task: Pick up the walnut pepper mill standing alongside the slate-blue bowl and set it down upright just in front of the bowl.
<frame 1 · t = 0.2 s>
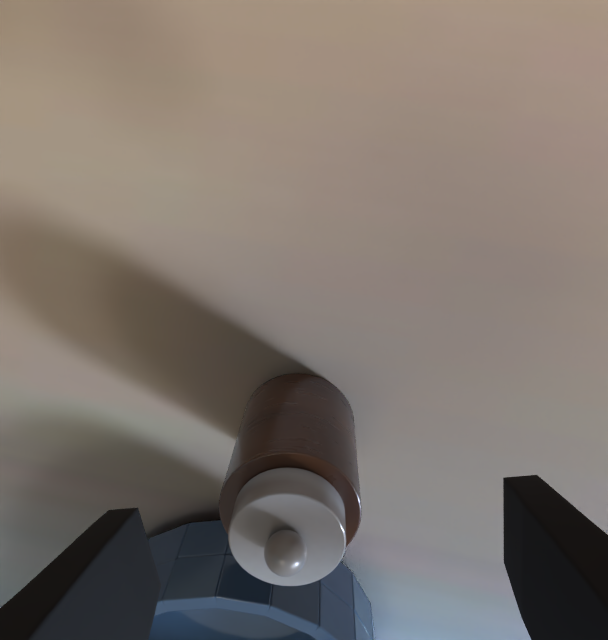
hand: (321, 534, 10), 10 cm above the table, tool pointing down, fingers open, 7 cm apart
bowl: (241, 615, 25), on the table
pepper mill: (298, 422, 21), on the table
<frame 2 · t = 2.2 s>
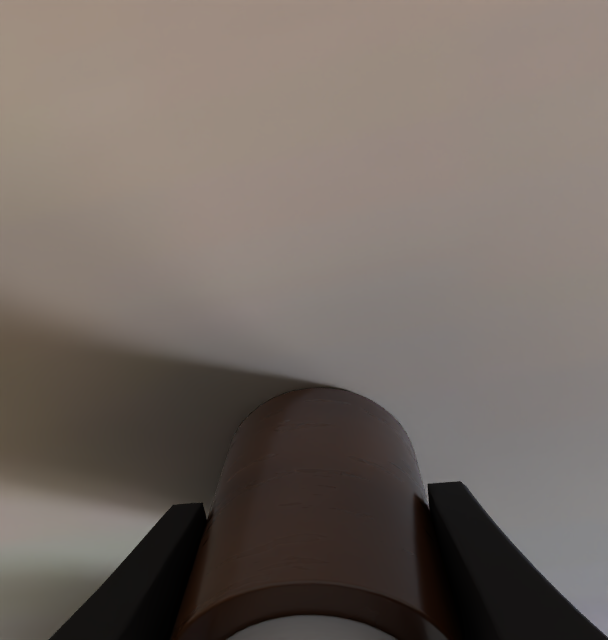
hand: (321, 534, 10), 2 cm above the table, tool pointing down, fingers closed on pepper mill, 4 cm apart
pepper mill: (320, 470, 12), on the table, touching gripper
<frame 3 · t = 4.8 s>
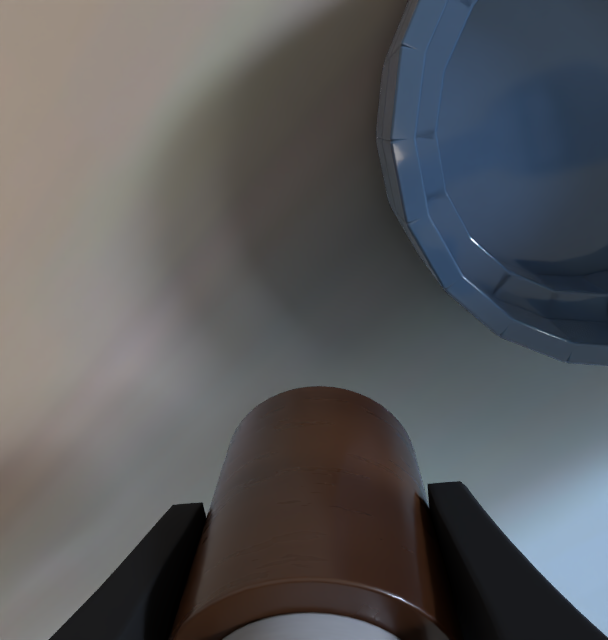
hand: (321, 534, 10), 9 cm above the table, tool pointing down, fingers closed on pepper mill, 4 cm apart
bowl: (583, 116, 16), on the table
pepper mill: (320, 469, 12), point 7 cm above the table, touching gripper
when the fingers open (2 cm above the table, at t = 7.6 s): pepper mill stays where it is, on the table.
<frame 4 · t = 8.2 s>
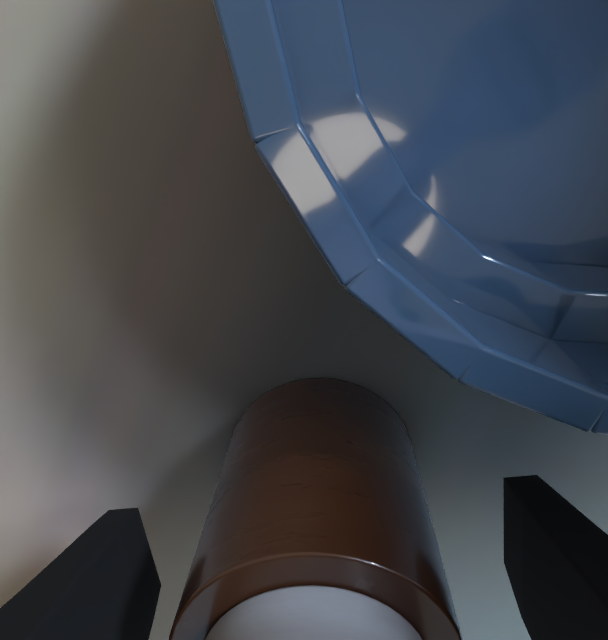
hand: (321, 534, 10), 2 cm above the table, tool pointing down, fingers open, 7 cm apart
pepper mill: (320, 459, 12), on the table
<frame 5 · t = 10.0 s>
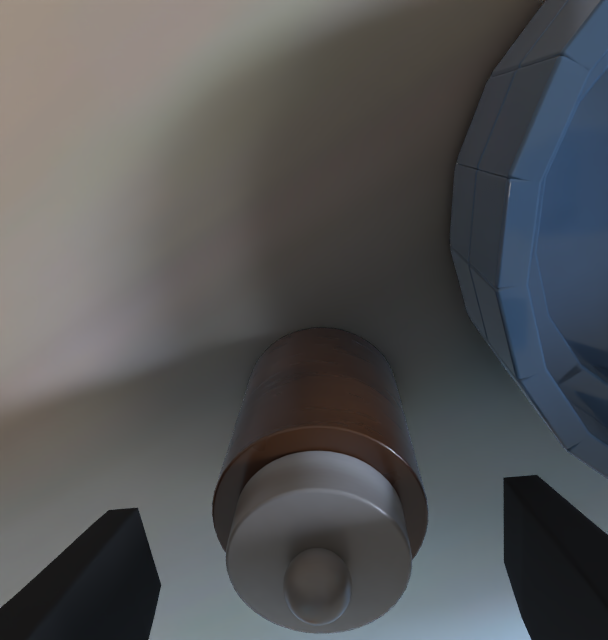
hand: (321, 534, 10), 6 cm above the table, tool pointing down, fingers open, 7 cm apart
pepper mill: (322, 396, 15), on the table
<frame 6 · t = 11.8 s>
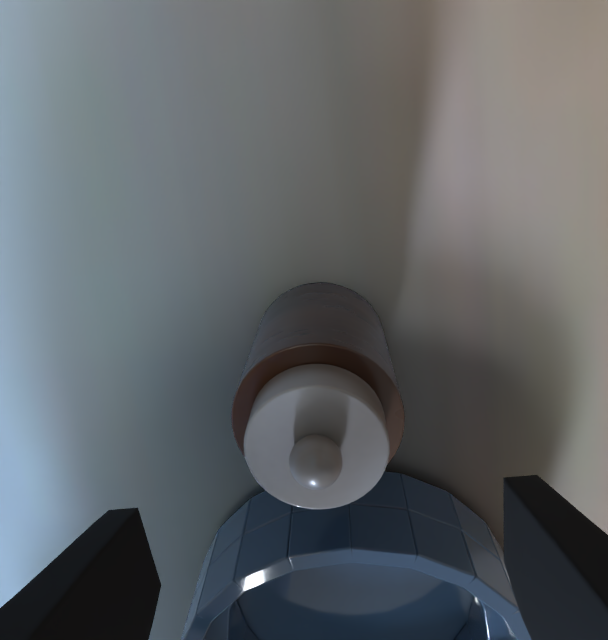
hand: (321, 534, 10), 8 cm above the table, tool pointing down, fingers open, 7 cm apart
bowl: (352, 583, 22), on the table
pepper mill: (320, 343, 18), on the table
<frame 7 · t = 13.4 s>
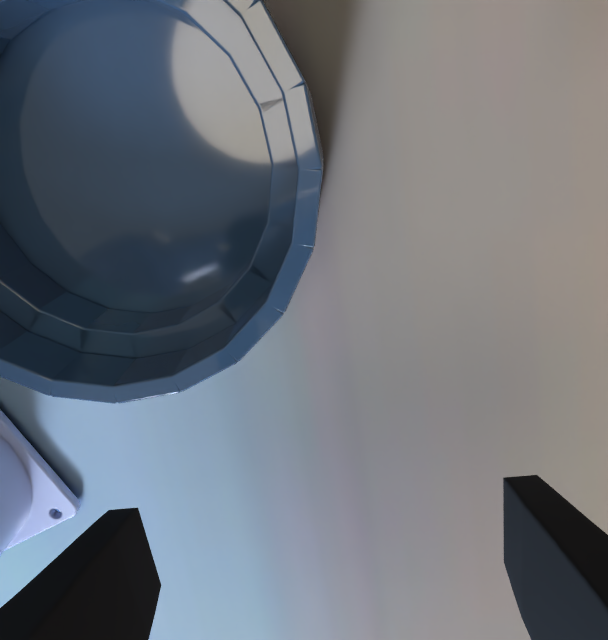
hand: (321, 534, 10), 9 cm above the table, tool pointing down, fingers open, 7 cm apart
bowl: (134, 169, 17), on the table
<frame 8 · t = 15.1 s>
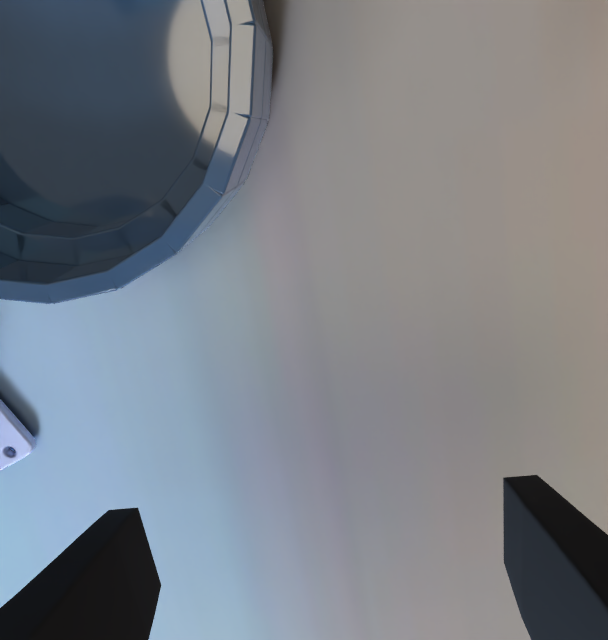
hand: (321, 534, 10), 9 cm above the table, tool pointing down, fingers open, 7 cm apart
bowl: (75, 68, 16), on the table
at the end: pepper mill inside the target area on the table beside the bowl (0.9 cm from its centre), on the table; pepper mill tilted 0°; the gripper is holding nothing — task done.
